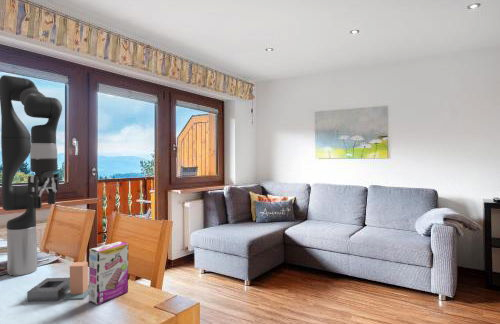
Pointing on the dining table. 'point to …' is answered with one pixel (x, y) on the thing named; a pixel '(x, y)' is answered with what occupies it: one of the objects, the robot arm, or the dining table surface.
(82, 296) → the mat
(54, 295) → the grey socket frame
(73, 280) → the plug
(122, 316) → the dining table surface
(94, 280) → the candy bar box
